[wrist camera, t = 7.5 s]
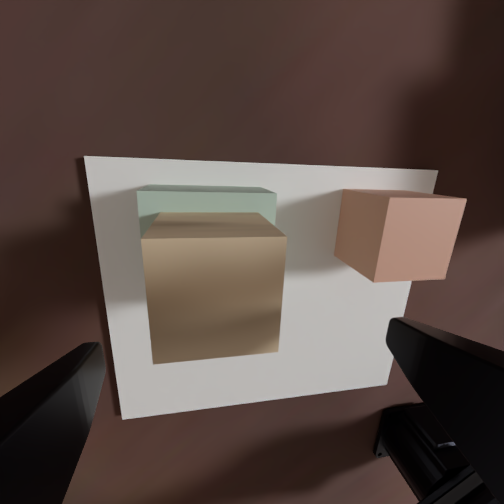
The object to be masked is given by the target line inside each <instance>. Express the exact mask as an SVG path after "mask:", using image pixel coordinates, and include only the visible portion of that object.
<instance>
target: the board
mask: <svg viewBox="0 0 504 504" xmlns="http://www.w3.org/2000/svg"><path fill="white" fill-rule="evenodd" d="M84 160H85V167H86V174H87V181H88V188H89V195H90V202H91V208H92V215H93V222H94V229H95V236H96V243H97V250H98V256H99V263H100V270H101V277H102V284H103V291H104V297H105V304H106V311H107V318H108V325H109V332H110V339H111V345H112V352H113V359H114V366H115V373H116V380H117V387H118V393H119V400H120V407H121V414H122V420H123V419H131V418H139V417H146V416H154V415H161V414H169V413H176V412H184V411H191V410H199V409H207V408H214V407H222V406H229V405H237V404H244V403H252V402H259V401H267V400H275V399H282V398H290V397H297V396H305V395H312V394H320V393H327V392H335V391H343V390H350V389H358V388H365V387H373V386H380V385H387V382H388V377H389V373H390V369H391V365H392V361H393V357H394V356H393V355H392V353H391V352H390V350H389V348H388V347H387V345H386V334H387V329H388V324H389V321H390V319H391V318H394V317H403V315H404V311H405V307H406V303H407V298H408V294H409V290H410V286H411V282H412V281H397V282H377V283H373V282H372V281H370V280H369V279H367V278H366V277H364V276H363V275H362V274H360V273H359V272H357V271H356V270H354V269H353V268H351V267H350V266H348V265H347V264H346V263H344V262H343V261H341V260H340V259H338V258H337V257H335V256H334V251H335V244H336V237H337V229H338V222H339V215H340V208H341V201H342V193H343V189H374V190H407V191H414V192H421V193H429V194H433V190H434V186H435V182H436V178H437V174H438V170H418V169H393V168H368V167H344V166H319V165H294V164H269V163H245V162H220V161H195V160H170V159H146V158H121V157H96V156H84ZM149 184H159V185H202V186H245V187H262V188H265V189H267V190H270V191H272V192H275V193H277V202H276V217H275V227H276V228H278V229H279V230H280V231H281V232H282V233H284V234H285V235H286V236H287V247H286V260H285V273H284V286H283V298H282V311H281V324H280V336H279V349H278V352H274V353H264V354H254V355H244V356H234V357H224V358H214V359H204V360H194V361H184V362H174V363H164V364H154V365H153V361H152V351H151V340H150V330H149V319H148V311H147V300H146V289H145V278H144V267H143V257H142V246H141V235H140V224H139V213H138V203H137V192H136V191H137V190H139V189H141V188H143V187H145V186H147V185H149Z"/></svg>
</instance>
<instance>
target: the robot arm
mask: <svg viewBox="0 0 504 504" xmlns="http://www.w3.org/2000/svg"><path fill="white" fill-rule="evenodd" d="M386 345H387V347H388V348H389V350H390V352H391V353H392V355H393V356H394V358H395V360H396V361H397V363H398V364H399V366H400V368H401V369H402V371H403V373H404V374H405V376H406V377H407V379H408V381H409V382H410V384H411V385H412V387H413V388H414V390H415V391H416V392H417V394H418V395H419V396H420V398H421V399H422V400H423V402H424V403H425V404H418V405H412V406H405V407H398V408H392V409H387V410H385V411H384V412H383V415H382V419H381V423H380V427H379V431H378V435H377V439H376V443H375V447H374V451H373V453H374V454H375V456H376V457H377V458H380V457H385V456H390V458H391V459H392V461H393V462H394V464H395V465H396V467H397V468H398V470H399V472H400V473H401V475H402V476H403V478H404V479H405V481H406V482H407V484H408V485H409V487H410V488H411V490H412V491H413V493H414V495H415V496H416V498H417V499H418V501H419V502H418V503H417V504H504V351H501V350H498V349H495V348H493V347H490V346H487V345H484V344H481V343H478V342H475V341H472V340H469V339H466V338H463V337H461V336H458V335H455V334H452V333H449V332H446V331H443V330H440V329H437V328H434V327H432V326H429V325H426V324H423V323H420V322H417V321H414V320H411V319H408V318H405V317H394V318H391V319H390V321H389V324H388V329H387V334H386ZM104 376H105V361H104V355H103V349H102V345H101V343H100V342H88V343H83V344H81V345H80V346H78V347H77V348H75V349H73V350H72V351H70V352H69V353H67V354H66V355H64V356H63V357H61V358H60V359H58V360H57V361H55V362H54V363H52V364H50V365H49V366H47V367H46V368H44V369H43V370H41V371H40V372H38V373H37V374H35V375H34V376H32V377H31V378H29V379H28V380H26V381H24V382H23V383H21V384H20V385H18V386H17V387H15V388H14V389H12V390H11V391H9V392H8V393H6V394H5V395H3V396H1V397H0V504H62V502H63V500H64V497H65V494H66V492H67V489H68V487H69V484H70V481H71V479H72V476H73V474H74V471H75V468H76V466H77V463H78V461H79V458H80V455H81V453H82V450H83V448H84V445H85V442H86V440H87V437H88V434H89V431H90V428H91V424H92V421H93V417H94V413H95V410H96V406H97V402H98V398H99V395H100V391H101V387H102V383H103V380H104Z"/></svg>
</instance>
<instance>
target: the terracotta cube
mask: <svg viewBox="0 0 504 504" xmlns="http://www.w3.org/2000/svg"><path fill="white" fill-rule="evenodd" d="M466 201H467V199H465V198H458V197H450V196H443V195H436V194H429V193H421V192H414V191H407V190H374V189H343V193H342V201H341V208H340V215H339V222H338V229H337V237H336V244H335V251H334V256H335V257H337V258H338V259H340V260H341V261H343V262H344V263H346V264H347V265H348V266H350V267H351V268H353V269H354V270H356V271H357V272H359V273H360V274H362V275H363V276H364V277H366V278H367V279H369V280H370V281H372V282H373V283H377V282H397V281H417V280H437V279H445V276H446V272H447V269H448V265H449V262H450V258H451V254H452V251H453V247H454V244H455V240H456V237H457V233H458V230H459V226H460V222H461V219H462V215H463V212H464V208H465V205H466Z"/></svg>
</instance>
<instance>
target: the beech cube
mask: <svg viewBox="0 0 504 504" xmlns="http://www.w3.org/2000/svg"><path fill="white" fill-rule="evenodd" d="M141 246H142V256H143V267H144V277H145V288H146V298H147V309H148V319H149V330H150V340H151V351H152V361H153V365H154V364H164V363H174V362H184V361H194V360H204V359H214V358H224V357H234V356H244V355H254V354H264V353H274V352H278V349H279V336H280V324H281V311H282V298H283V286H284V273H285V260H286V247H287V236H286V235H285V234H284V233H282V232H281V231H280V230H279V229H278V228H276V227H275V226H274V225H273V224H272V223H270V222H269V221H268V220H267V219H266V218H264V217H263V216H262V215H261V214H260V213H258V212H160V213H159V215H158V216H157V217H156V219H155V220H154V221H153V223H152V224H151V226H150V227H149V228H148V230H147V231H146V233H145V234H144V235H143V237H142V238H141Z"/></svg>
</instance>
